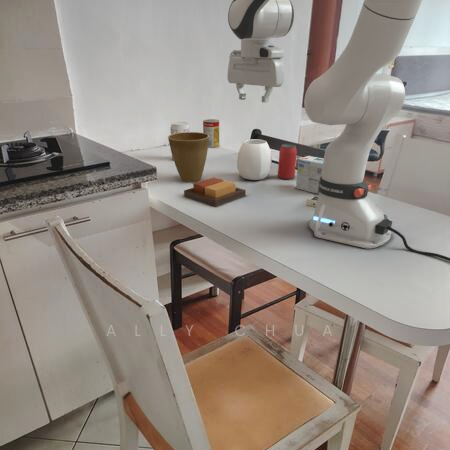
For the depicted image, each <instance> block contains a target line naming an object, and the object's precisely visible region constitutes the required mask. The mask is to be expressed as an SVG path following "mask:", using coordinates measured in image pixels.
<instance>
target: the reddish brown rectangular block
mask: <svg viewBox="0 0 450 450" xmlns="http://www.w3.org/2000/svg"><path fill="white" fill-rule="evenodd" d="M223 181H225V180H224V179H223V178H222V179H221V178H217V177H210V178H207V179H204V180H199V181H197V182H192V188H193V189H194V192H197V193H200V194H203V195H205V187H207V186H210V185H213V184H216V183H219V182H223Z"/></svg>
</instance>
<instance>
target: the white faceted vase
mask: <svg viewBox="0 0 450 450" xmlns="http://www.w3.org/2000/svg"><path fill="white" fill-rule="evenodd" d="M272 157H273V155H272V151H271V148H270V145H269V144H268V142H267V140H264V139H258V138H257V139H256V138H255V139H252V138H251V139H245V140H244V141H243V142H242V143H241V146H240V148H239V150H238V154H237V158H236V159H237V160H236V169H237V171H238V174H239V175H240V176H241V177H242V179H245V180H249V181H260V180H264V179H265V178H267V177H268V176H269V174H270V172H271V170H272V162H273V161H272V160H273V159H272Z"/></svg>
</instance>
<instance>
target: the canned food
mask: <svg viewBox="0 0 450 450" xmlns="http://www.w3.org/2000/svg"><path fill="white" fill-rule="evenodd" d="M202 128H203V129H202V133H205V134H208V135H209V142H208V148H209V149H215V148H219V147H220V120H219V119H216V118H215V119H214V118H207V119H203V120H202Z"/></svg>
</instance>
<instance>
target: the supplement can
mask: <svg viewBox="0 0 450 450" xmlns="http://www.w3.org/2000/svg"><path fill="white" fill-rule="evenodd" d="M169 130H170V135H172V134H176V133H184V132H191V131H190V125H189V123H188V122H186V121H175V122H172V123H171V125H170V129H169ZM171 158H172V159H173V156H172V155H171Z"/></svg>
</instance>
